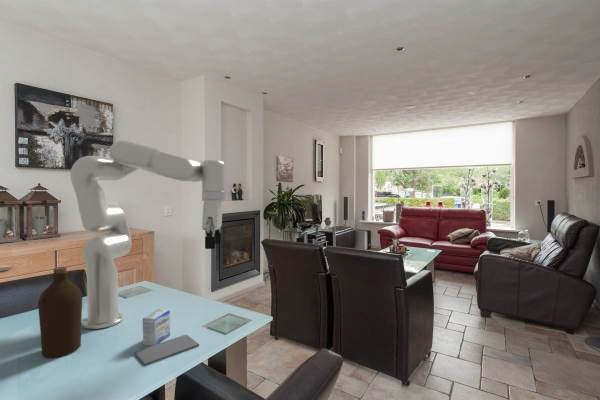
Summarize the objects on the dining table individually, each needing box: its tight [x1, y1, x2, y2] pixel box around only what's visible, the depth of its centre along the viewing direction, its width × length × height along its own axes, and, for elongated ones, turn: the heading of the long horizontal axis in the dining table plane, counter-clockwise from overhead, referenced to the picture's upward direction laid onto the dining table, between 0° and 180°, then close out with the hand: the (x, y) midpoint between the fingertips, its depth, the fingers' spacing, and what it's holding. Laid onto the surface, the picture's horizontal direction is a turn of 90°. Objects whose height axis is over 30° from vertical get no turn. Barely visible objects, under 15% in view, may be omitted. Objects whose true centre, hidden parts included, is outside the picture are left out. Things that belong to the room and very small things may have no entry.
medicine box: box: [142, 308, 171, 346], centre depth 103 cm, size 8×4×9 cm, turn 168°
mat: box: [133, 334, 200, 366], centre depth 97 cm, size 9×16×1 cm, turn 134°
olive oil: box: [37, 266, 83, 359], centre depth 96 cm, size 11×11×25 cm
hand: (213, 245), depth 110 cm, fingers open, 9 cm apart
